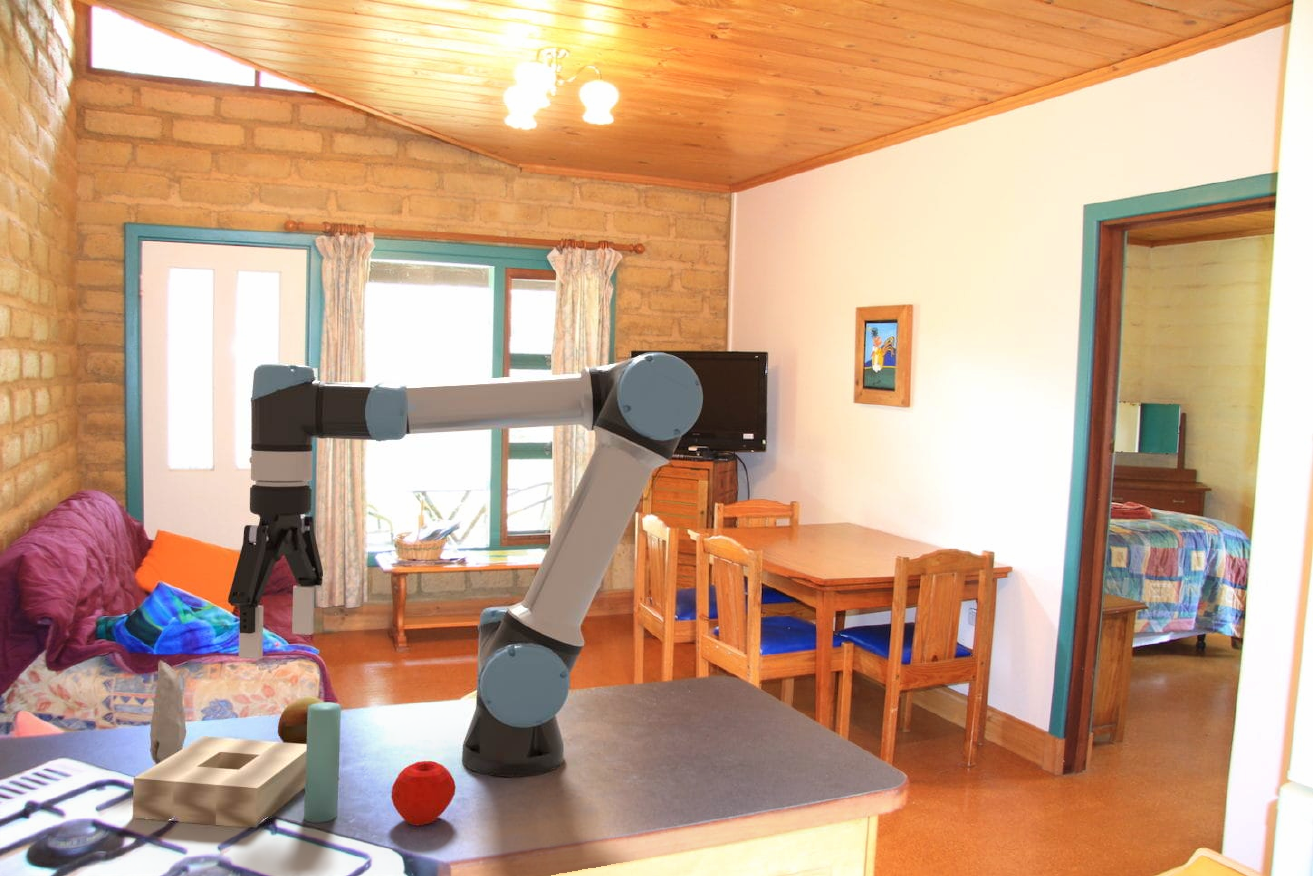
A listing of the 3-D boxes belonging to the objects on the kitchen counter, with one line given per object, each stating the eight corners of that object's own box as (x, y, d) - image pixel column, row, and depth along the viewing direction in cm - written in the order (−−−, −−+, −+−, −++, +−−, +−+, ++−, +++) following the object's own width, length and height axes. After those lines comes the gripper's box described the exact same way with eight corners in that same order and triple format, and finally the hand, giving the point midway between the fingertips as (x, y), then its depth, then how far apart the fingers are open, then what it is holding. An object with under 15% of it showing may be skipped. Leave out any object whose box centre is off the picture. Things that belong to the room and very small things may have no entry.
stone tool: (166, 778, 136) (170, 669, 135) (141, 778, 135) (145, 669, 135) (189, 754, 145) (192, 653, 145) (165, 754, 145) (169, 653, 144)
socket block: (312, 780, 137) (314, 745, 137) (256, 828, 121) (257, 788, 121) (202, 771, 139) (204, 736, 139) (132, 818, 123) (133, 778, 123)
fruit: (338, 756, 147) (340, 702, 147) (279, 762, 144) (281, 708, 143) (331, 739, 154) (333, 689, 154) (274, 745, 150) (276, 693, 150)
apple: (454, 833, 123) (457, 774, 122) (388, 836, 121) (390, 776, 121) (454, 807, 130) (456, 751, 130) (392, 810, 129) (394, 753, 129)
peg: (342, 811, 128) (346, 703, 127) (329, 823, 124) (333, 713, 123) (312, 808, 128) (316, 701, 128) (298, 821, 124) (302, 710, 124)
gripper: (299, 476, 141) (296, 623, 142) (198, 489, 117) (195, 667, 117) (349, 478, 141) (346, 626, 141) (258, 492, 116) (255, 671, 116)
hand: (278, 645), depth 129 cm, fingers open, 13 cm apart
